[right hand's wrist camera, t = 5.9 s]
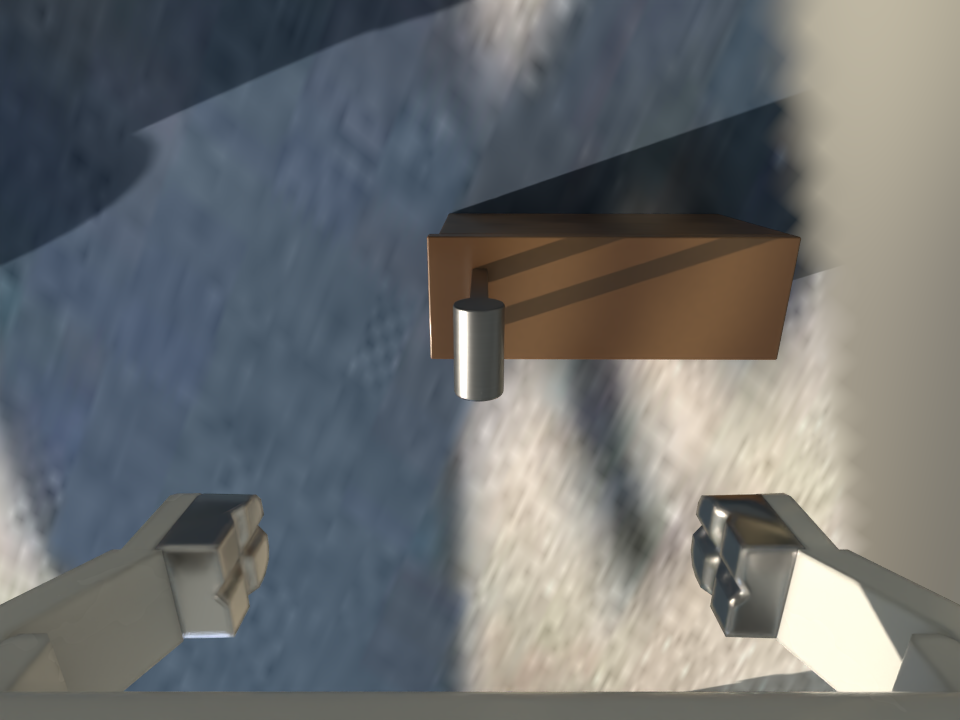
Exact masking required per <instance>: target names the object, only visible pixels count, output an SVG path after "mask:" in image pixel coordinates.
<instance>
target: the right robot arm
mask: <svg viewBox="0 0 960 720" xmlns="http://www.w3.org/2000/svg"><path fill="white" fill-rule="evenodd" d="M263 515H264V512H263V507H262V502H261V499H260V498H259V497H258V496H257V495H250V494H200V493H179V494H174V495H170V496H169V497H168V498H167V499H166V500H165V502H164V503H163V504H162V505H161V506H160V507H159V508H158V509H157V510H156V512H155V513H154V514H153V515H152V516H151V517H150V518H149V519H148V520H147V521H146V523H145V524H144V525H143V526H142V527H141V528H140V529H139V530H138V531H137V533H136V534H135V535H134V536H133V537H132V538H131V539H130V540H129V541H128V543H127V544H126V545H125V546H124V547H123V548H122V549H121V550H110V551H108V552H106V553H104V554H102V555H100V556H98V557H96V558H94V559H92V560H90V561H88V562H86V563H84V564H82V565H80V566H78V567H76V568H74V569H72V570H70V571H68V572H66V573H64V574H62V575H60V576H58V577H56V578H54V579H52V580H50V581H48V582H46V583H43V584H41V585H39V586H37V587H35V588H33V589H31V590H29V591H27V592H25V593H23V594H21V595H19V596H17V597H15V598H13V599H11V600H9V601H7V602H5V603H3V604H1V605H0V720H960V605H959V604H957V603H955V602H953V601H951V600H949V599H947V598H945V597H943V596H941V595H939V594H937V593H935V592H932V591H930V590H928V589H926V588H924V587H922V586H920V585H918V584H916V583H914V582H912V581H910V580H908V579H906V578H904V577H902V576H900V575H898V574H896V573H894V572H892V571H890V570H888V569H886V568H884V567H882V566H880V565H878V564H876V563H874V562H872V561H870V560H868V559H866V558H864V557H862V556H860V555H858V554H856V553H854V552H852V551H850V550H839V549H838V548H837V547H836V546H835V545H834V544H833V543H832V541H831V540H830V539H829V538H828V537H827V536H826V535H825V534H824V533H823V531H822V530H821V529H820V528H819V527H818V526H817V525H816V524H815V523H814V521H813V520H812V519H811V518H810V517H809V516H808V515H807V514H806V513H805V511H804V510H803V509H802V508H801V507H800V506H799V505H798V504H797V503H796V502H795V500H794V499H793V498H792V497H791V496H789V495H787V494H785V493H770V494H753V495H702V496H701V498H700V500H699V502H698V506H697V511H696V515H697V517H698V519H699V521H700V522H701V524H702V526H701V527H700V528H699V529H698V530H697V531H696V532H695V533H694V534H693V536H692V544H691V558H692V566H693V570H694V573H695V577H696V579H697V581H698V583H699V585H700V587H701V588H702V589H704V590H705V591H707V592H708V593H709V594H711V595H712V599H711V605H710V607H711V609H712V611H713V613H714V615H715V617H716V619H717V621H718V623H719V625H720V627H721V628H722V630H723V632H724V634H725V636H726V637H751V638H777V640H776V641H777V642H779V643H780V644H781V645H782V646H783V647H785V648H786V649H787V650H788V651H789V652H791V653H792V654H793V655H794V656H795V657H797V658H798V659H799V660H800V661H801V662H803V663H804V664H805V665H806V666H807V667H809V668H810V669H811V670H812V671H813V672H815V673H816V674H817V675H818V676H819V677H821V678H822V679H823V680H824V681H825V682H827V683H828V684H829V685H830V686H831V687H833V688H834V689H835V690H836V691H837V692H123V691H124V690H125V689H126V688H128V687H129V686H130V685H131V684H132V683H134V682H135V681H136V680H137V679H138V678H140V677H141V676H142V675H143V674H144V673H146V672H147V671H148V670H149V669H150V668H152V667H153V666H154V665H155V664H156V663H158V662H159V661H160V660H161V659H162V658H164V657H165V656H166V655H167V654H168V653H170V652H171V651H172V650H173V649H174V648H176V647H177V646H178V645H179V644H180V643H182V642H183V638H208V637H234V636H235V634H236V632H237V631H238V629H239V627H240V625H241V623H242V621H243V619H244V617H245V615H246V613H247V611H248V609H249V607H250V605H249V599H248V595H249V594H251V593H252V592H253V591H255V590H256V589H258V588H259V587H260V585H261V583H262V581H263V579H264V577H265V574H266V569H267V565H268V560H269V543H268V536H267V534H266V533H265V532H264V531H263V530H262V529H261V528H260V527H259V526H258V524H259V522H260V521H261V519H262V517H263Z"/></svg>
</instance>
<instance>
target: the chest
mask: <svg viewBox="0 0 960 720" xmlns="http://www.w3.org/2000/svg"><path fill="white" fill-rule="evenodd" d="M439 234H665V235H790V234H787V233H783V232H780V231H776V230H773V229H769V228H765V227H762V226H758V225H755V224H751V223H748V222H744V221H741V220H737V219H733V218H730V217H726V216H723V215H720V214H449V215H448V217H447V219H446V221H445V223H444V225H443V227H442V229H441V231H440V233H439Z"/></svg>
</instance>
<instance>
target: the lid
mask: <svg viewBox="0 0 960 720" xmlns="http://www.w3.org/2000/svg"><path fill="white" fill-rule="evenodd" d="M800 241H801V238H800V237H798V236H794V235H665V234H429V235H428V237H427V253H428V286H429V318H430V350H431V359H454V391H455V394H456V395H457V396H458V397H460V398H462V399H465V400H469V401H489V400H493V399H496V398H498V397H500V396H501V395H502V393H503V389H504V359H701V360H776V359H777V355H778V350H779V346H780V341H781V336H782V331H783V326H784V321H785V316H786V311H787V306H788V301H789V296H790V291H791V286H792V281H793V276H794V271H795V266H796V261H797V256H798V251H799V246H800Z"/></svg>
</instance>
